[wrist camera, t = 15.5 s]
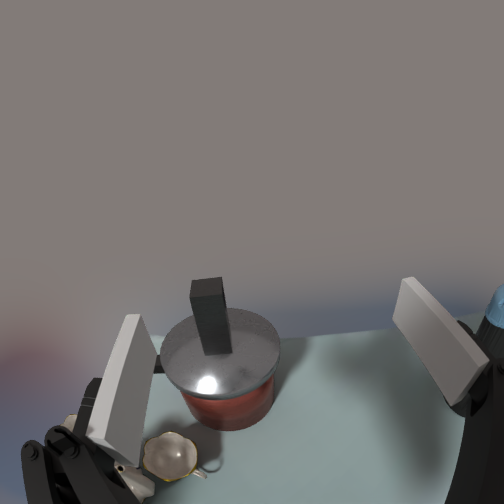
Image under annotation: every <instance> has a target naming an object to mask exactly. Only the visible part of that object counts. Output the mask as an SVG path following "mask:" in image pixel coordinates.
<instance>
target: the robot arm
mask: <svg viewBox="0 0 504 504" xmlns="http://www.w3.org/2000/svg"><path fill="white" fill-rule="evenodd" d="M392 320H393V321H394V323H395V324H396V325H397V327H398V328H399V330H400V331H401V332H402V334H403V335H404V336H405V338H406V339H407V341H408V342H409V344H410V345H411V346H412V348H413V349H414V351H415V352H416V354H417V355H418V357H419V358H420V359H421V361H422V362H423V364H424V365H425V367H426V368H427V370H428V371H429V373H430V375H431V376H432V378H433V379H434V381H435V382H436V384H437V385H438V387H439V389H440V390H441V392H442V393H443V395H444V398H445V400H446V402H447V404H448V405H449V407H450V408H451V409H452V410H453V411H454V412H455V413H457V414H458V415H460V416H462V417H465V425H464V431H463V437H462V442H461V447H460V452H459V456H458V461H457V465H456V469H455V472H454V476H453V480H452V483H451V486H450V489H449V492H448V495H447V498H446V501H445V504H504V284H503V285H501V286H499V287H498V288H497V290H496V291H495V294H494V295H493V297H492V300H491V302H490V304H489V305H488V306H487V308H486V311H485V316H484V318H483V320H482V323H481V325H480V327H479V329H478V331H477V333H476V335H475V334H473V331H472V330H471V329H470V328H469V327H468V326H467V325H466V324H464V323H463V322H461V321H459V320H458V321H456V320H455V319H454V318H453V317H452V316H451V315H450V314H449V313H448V312H447V310H446V309H445V308H444V307H443V306H442V305H441V304H440V303H439V302H438V301H437V300H436V299H435V298H434V297H433V296H432V295H431V294H430V293H429V292H428V291H427V290H426V289H425V288H424V287H423V286H422V285H421V284H420V283H419V282H418V281H417V280H416V279H415V278H414V277H409V278H404V279H402V283H401V287H400V291H399V295H398V299H397V304H396V307H395V311H394V314H393V318H392ZM156 357H157V352H156V350H155V348H154V345H153V343H152V341H151V338H150V336H149V334H148V331H147V329H146V326H145V324H144V321H143V319H142V316H141V314H133V315H126V318H125V320H124V322H123V325H122V327H121V330H120V332H119V335H118V337H117V340H116V343H115V345H114V348H113V351H112V353H111V356H110V359H109V362H108V364H107V367H106V370H105V373H104V376H103V378H93V380H92V381H91V382H90V383H89V385H88V386H87V388H86V391H85V394H84V398H83V400H82V402H81V406H80V409H79V412H78V415H77V418H76V421H75V424H74V428H73V431H72V432H71V431H70V430H69V429H68V428H66V427H64V426H60V425H59V426H54V427H52V428H51V429H50V430H48V432H47V434H46V435H45V440H44V442H45V446H42V445H41V444H40V443H39V442H37V441H35V440H30V441H27V442H26V443H25V444H24V445H23V447H22V450H21V461H22V470H23V478H24V484H25V490H26V496H27V501H28V504H141V503H140V501H139V500H138V499H137V497H136V496H135V495H134V493H133V492H132V491H131V489H130V488H129V487H128V485H127V484H126V482H125V481H124V479H123V478H122V477H121V475H120V474H119V472H118V471H117V469H116V468H115V467H114V463H115V461H117V462H118V463H119V464H121V465H124V466H130V467H137V468H138V466H139V458H140V450H141V442H142V435H143V428H144V422H145V416H146V409H147V404H148V398H149V392H150V387H151V382H152V377H153V372H154V367H155V362H156Z"/></svg>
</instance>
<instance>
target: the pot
mask: <svg viewBox="0 0 504 504" xmlns="http://www.w3.org/2000/svg"><path fill="white" fill-rule="evenodd" d="M157 373H165V371H164V369H163V367H162V364H161V361H160V355H157V357H156V362H155V367H154V372H153V374H157ZM180 392H181V394H182V396H183V398H184V400H185V402H186V404H187V406H188V408H189V410H190V412H191V413H192V415H193V416H194V417H195V418H196V419H197V420H198V421H199V422H200V423H202V424H203V425H205V426H207V427H209V428H212V429H215V430H220V431H236V430H241V429H245V428H248V427H250V426H252V425H254V424H256V423H257V422H259V421H260V420H261V419H262V418H263V417H265V415H266V414H267V413H268V412H269V410H270V408H271V406H272V404H273V400H274V375H273V374H272V375H271V377H270V378H269V379H268V380H267V381H266V382H265V383H264V384H263V385H261V386H260V387H259V388H257V389H256V390H254V391H252V392H250V393H248V394H246V395H243V396H241V397H237V398H233V399H228V400H214V401H213V400H203V399H199V398H195V397H192V396H189V395H187V394H185V393H183V392H182V391H180Z"/></svg>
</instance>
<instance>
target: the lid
mask: <svg viewBox="0 0 504 504" xmlns="http://www.w3.org/2000/svg"><path fill="white" fill-rule="evenodd" d="M190 302H191V306H192V310H193V314H194V315H192V316H190V317H188V318H186V319H184V320H183V321H181V322H180V323H178V324H177V325H176V326H175V327H174V328H173V329H171V331H170V332H169V333H168V334H167V336H166V337H165V339H164V341H163V343H162V346H161V350H160V361H161V364H162V367H163V369H164V371H165V373H166V376H167V378H168V379H169V380H170V382H171V383H172V384H173V385H174V386H175V387H176V388H177V389H179V390H180V391H182V392H183V393H185V394H187V395H189V396H192V397H195V398H199V399H203V400H213V401H214V400H228V399H233V398H237V397H241V396H243V395H246V394H248V393H250V392H252V391H254V390H256V389H257V388H259V387H260V386H261V385H263V384H264V383H265V382H266V381H267V380H268V379H269V378H270V377H271V375H272V374H273V373H274V371H275V369H276V368H277V365H278V363H279V358H280V340H279V336H278V334H277V331H276V330H275V328H274V327H273V326H272V324H271V323H270V322H268V321H267V320H266V319H265V318H263V317H262V316H260V315H258V314H256V313H253V312H250V311H246V310H242V309H234V308H227V307H226V301H225V294H224V288H223V282H222V277H217V278H208V279H199V280H192V284H191V290H190Z"/></svg>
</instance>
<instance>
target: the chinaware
mask: <svg viewBox="0 0 504 504" xmlns="http://www.w3.org/2000/svg"><path fill="white" fill-rule="evenodd" d="M76 418H77V415H76V414H70V415H69V416H68V417H67V418H66V419H65V421H64V423H63V424H61V425H60V426H64V427H66V428H68V429H69V430H70V431H71V432H72V431H73V428H74V424H75V421H76ZM144 454H145V455H144V456H143V459H142V461H143V466H144V468H145V469H147V471H149V472H150V473H152V474H153V475H156V476H157V477H158V478H160V479H162V480H165V481H167V482H171V481H175V480H178V479H181V478H184V477H186V476H187V475H189V474H195V475H197V476H200V477H202V478H205V479H206V478H207V475H206V474H205V473H203V472H201V471H199V470H197V469H196V466H197V461H198V458H197V456H198V453H197V447H196V443H195V442H193V441H192V440H190V439H188V438H184V437H183V436H182V435H180V434H178V433H176V432H173V431H169V432H165V433H163V434H161V435H160V436H159V437H154V438H151V439H149V440H148V441H146V443H145V446H144ZM114 467H115V468H116V469H117V471H118V472H119V474H120V475H121V477H122V478H123V479H124V481H125V482H126V484H127V485H128V487H129V488H130V489H131V491H132V492H133V493H134V495H135V496H136V497H137V499H138V500H139V501H140V503H141V504H142V503H143V502H144V500H145V498H146V497H150V496H153V495H154V489H155V483H154V482H153V481H152V480H150V479H149V478H147V477H146V476H144V475H143V474H142V469H141V468H140V467H139V466H138V468H137V467H130V466H124V465H121V464H119V463H118V462H117V461H115V463H114ZM196 472H197V473H196Z"/></svg>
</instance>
